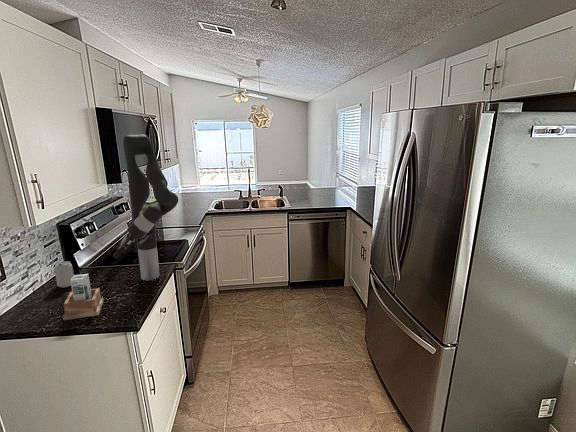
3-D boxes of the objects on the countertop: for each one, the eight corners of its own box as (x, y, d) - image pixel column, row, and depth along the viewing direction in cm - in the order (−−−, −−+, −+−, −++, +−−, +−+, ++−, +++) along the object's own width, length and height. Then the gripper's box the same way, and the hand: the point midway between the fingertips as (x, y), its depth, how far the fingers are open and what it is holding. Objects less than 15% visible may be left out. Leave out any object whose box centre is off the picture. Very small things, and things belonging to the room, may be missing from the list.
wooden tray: (71, 305, 151) (69, 291, 149) (103, 300, 155) (101, 286, 154) (63, 320, 139) (60, 305, 138) (98, 315, 144) (96, 300, 142)
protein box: (140, 219, 289) (138, 201, 285) (151, 215, 303) (149, 198, 299) (151, 220, 287) (149, 202, 282) (161, 215, 301) (160, 198, 297)
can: (56, 284, 171) (52, 262, 167) (73, 280, 175) (70, 259, 172) (58, 289, 165) (54, 267, 162) (76, 285, 170) (72, 263, 167)
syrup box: (75, 311, 144) (69, 280, 140) (78, 304, 149) (73, 274, 145) (90, 309, 145) (85, 278, 142) (93, 302, 151) (88, 272, 147)
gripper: (135, 216, 151) (110, 243, 151) (132, 225, 138) (105, 254, 138) (149, 226, 154) (125, 252, 154) (147, 236, 141) (121, 264, 141)
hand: (115, 253), depth 146 cm, fingers open, 8 cm apart
